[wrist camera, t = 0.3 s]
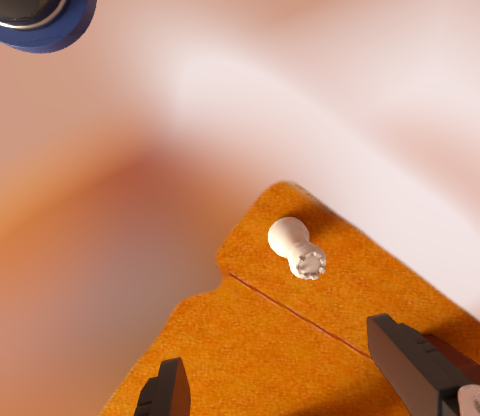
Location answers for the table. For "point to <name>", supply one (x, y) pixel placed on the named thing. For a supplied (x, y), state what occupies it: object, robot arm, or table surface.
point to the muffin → (456, 360)
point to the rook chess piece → (297, 248)
